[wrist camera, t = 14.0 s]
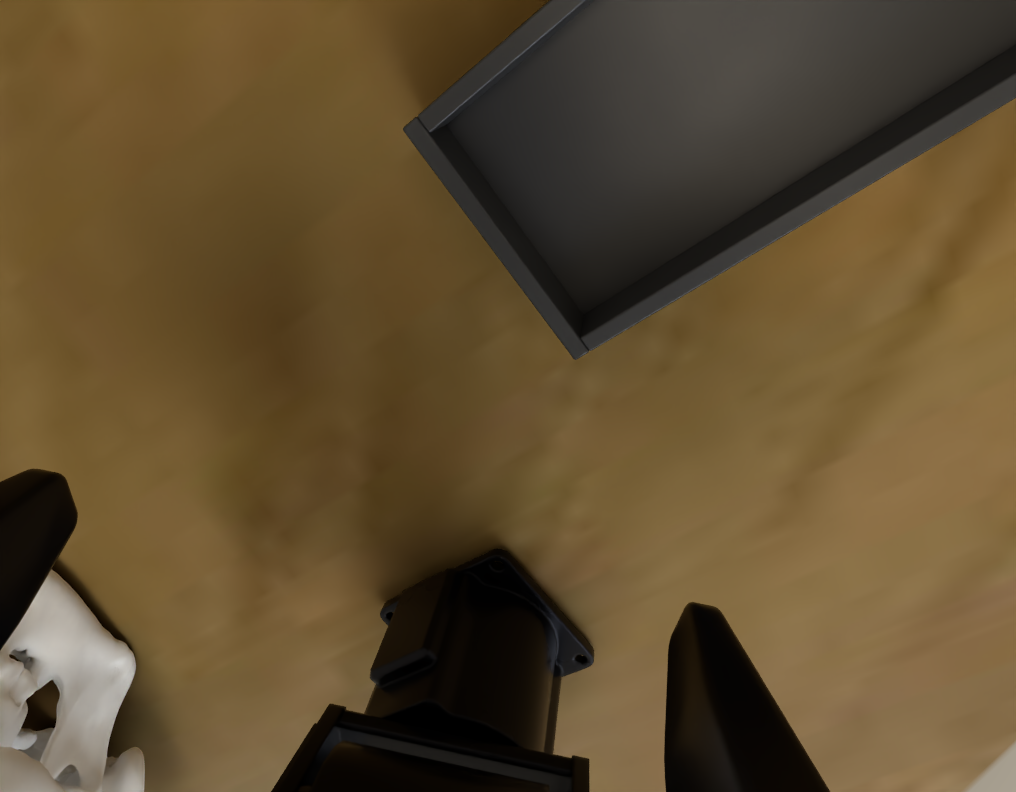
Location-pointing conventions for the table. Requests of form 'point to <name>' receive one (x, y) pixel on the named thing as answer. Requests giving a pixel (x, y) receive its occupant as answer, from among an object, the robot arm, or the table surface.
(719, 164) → the pen tray
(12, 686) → the white skull model
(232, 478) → the table surface
